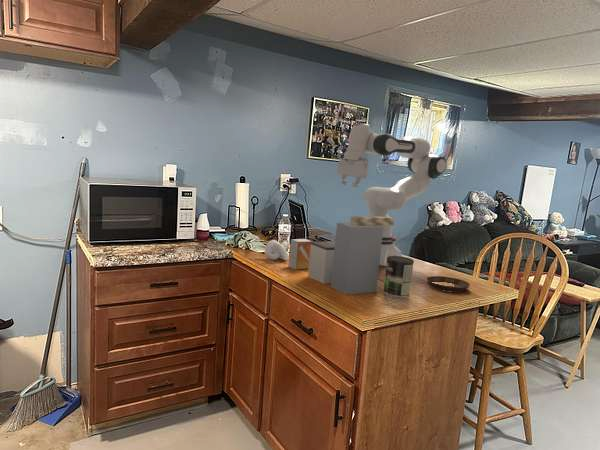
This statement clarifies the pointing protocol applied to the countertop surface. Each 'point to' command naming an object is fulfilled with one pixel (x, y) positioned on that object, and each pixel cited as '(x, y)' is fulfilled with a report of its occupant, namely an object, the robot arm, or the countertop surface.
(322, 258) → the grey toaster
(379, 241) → the grey stand
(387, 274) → the coffee can
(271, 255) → the grey rounded lump
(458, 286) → the plant saucer
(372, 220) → the birch slat
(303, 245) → the small box
